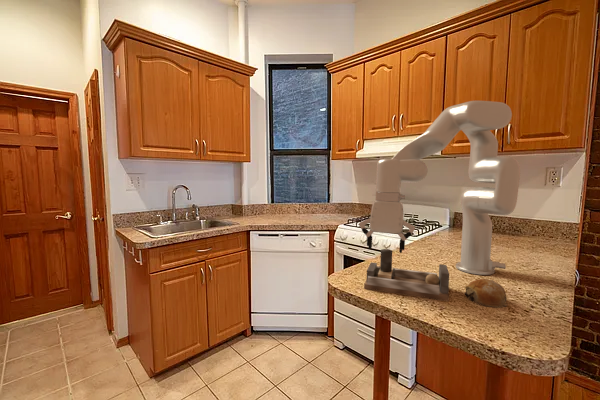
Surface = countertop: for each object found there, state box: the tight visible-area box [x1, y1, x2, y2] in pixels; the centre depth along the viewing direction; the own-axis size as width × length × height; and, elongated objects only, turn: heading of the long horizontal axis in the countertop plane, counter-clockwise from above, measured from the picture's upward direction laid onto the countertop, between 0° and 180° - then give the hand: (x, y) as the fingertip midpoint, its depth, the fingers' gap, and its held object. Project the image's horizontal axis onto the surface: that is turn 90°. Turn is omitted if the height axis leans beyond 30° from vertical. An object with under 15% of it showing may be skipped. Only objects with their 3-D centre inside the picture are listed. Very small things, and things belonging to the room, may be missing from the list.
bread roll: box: [464, 278, 508, 308], centre depth 82 cm, size 10×10×8 cm
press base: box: [363, 262, 450, 302], centre depth 91 cm, size 24×12×8 cm, turn 68°
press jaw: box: [378, 248, 395, 279], centre depth 93 cm, size 5×9×10 cm, turn 158°
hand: (385, 250), depth 92 cm, fingers open, 9 cm apart
